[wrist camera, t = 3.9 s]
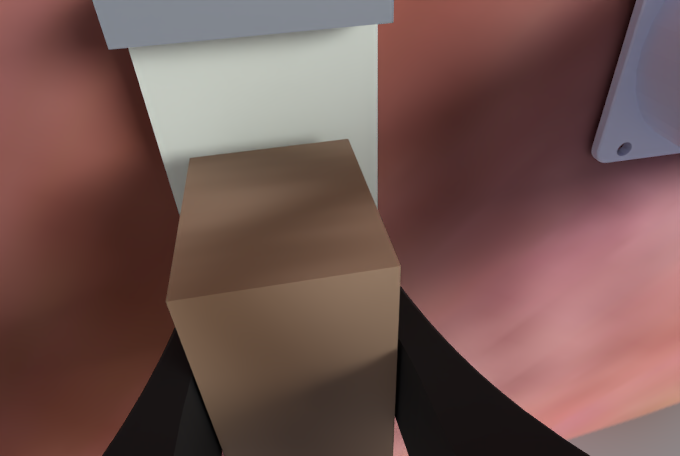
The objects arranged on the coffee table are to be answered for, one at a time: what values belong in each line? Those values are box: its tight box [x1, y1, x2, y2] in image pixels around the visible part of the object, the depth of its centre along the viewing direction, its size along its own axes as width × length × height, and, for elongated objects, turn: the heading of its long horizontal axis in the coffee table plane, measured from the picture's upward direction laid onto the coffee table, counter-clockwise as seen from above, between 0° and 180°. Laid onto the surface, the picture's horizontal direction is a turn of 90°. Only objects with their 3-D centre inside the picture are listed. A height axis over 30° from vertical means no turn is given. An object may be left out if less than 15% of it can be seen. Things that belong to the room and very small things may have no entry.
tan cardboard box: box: [166, 139, 401, 456], centre depth 12 cm, size 4×8×5 cm, turn 3°
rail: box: [92, 0, 394, 215], centre depth 16 cm, size 6×24×6 cm, turn 3°
